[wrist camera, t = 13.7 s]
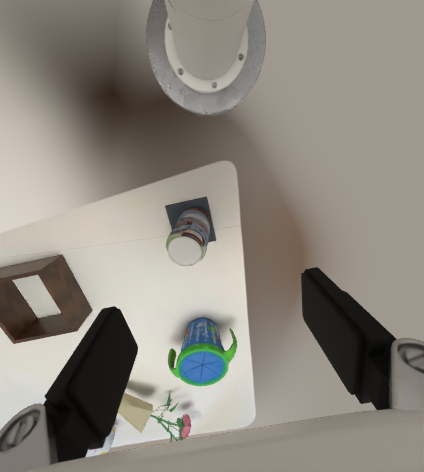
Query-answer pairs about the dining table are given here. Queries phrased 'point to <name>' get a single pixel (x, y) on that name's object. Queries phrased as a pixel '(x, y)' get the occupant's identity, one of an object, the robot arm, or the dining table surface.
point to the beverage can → (189, 237)
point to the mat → (177, 209)
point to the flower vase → (141, 411)
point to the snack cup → (202, 355)
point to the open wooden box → (60, 288)
